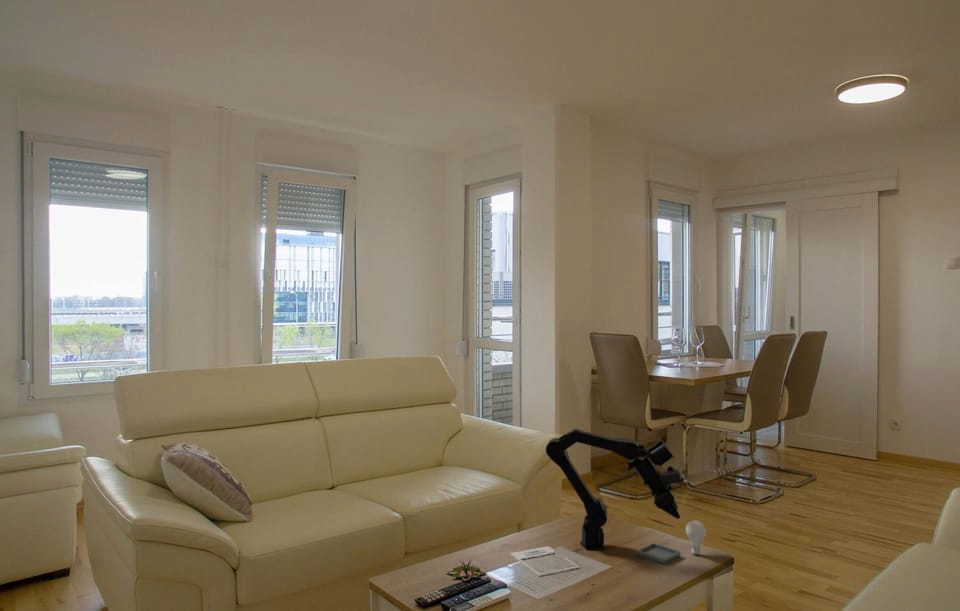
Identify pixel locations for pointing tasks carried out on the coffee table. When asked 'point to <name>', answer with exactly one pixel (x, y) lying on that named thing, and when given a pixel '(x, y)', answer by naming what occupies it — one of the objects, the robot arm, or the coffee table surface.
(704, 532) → the lightbulb
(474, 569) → the flower arrangement
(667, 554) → the dish
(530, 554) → the photo frame
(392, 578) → the coffee table surface
